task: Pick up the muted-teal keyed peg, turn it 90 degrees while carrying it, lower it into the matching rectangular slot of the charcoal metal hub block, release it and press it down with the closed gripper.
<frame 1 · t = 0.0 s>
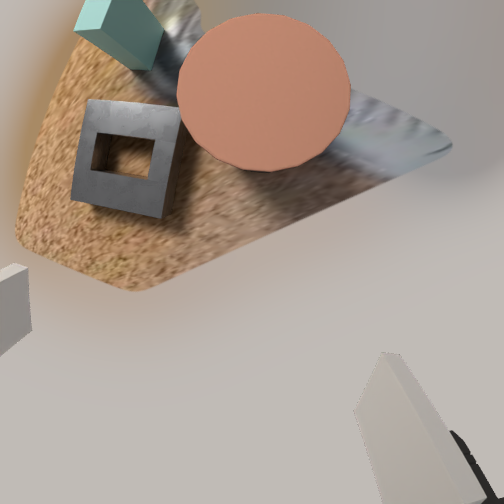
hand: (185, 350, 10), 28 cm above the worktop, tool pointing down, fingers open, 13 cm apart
coffee jar: (263, 127, 35), on the worktop
keyed peg: (146, 48, 32), on the worktop
hub block: (134, 156, 36), on the worktop
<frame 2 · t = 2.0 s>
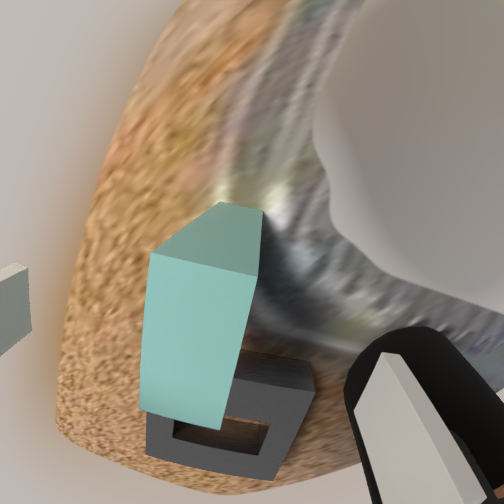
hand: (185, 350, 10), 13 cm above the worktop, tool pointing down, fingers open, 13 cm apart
coffee jar: (396, 371, 25), on the worktop
keyed peg: (232, 247, 23), on the worktop
hub block: (224, 401, 26), on the worktop
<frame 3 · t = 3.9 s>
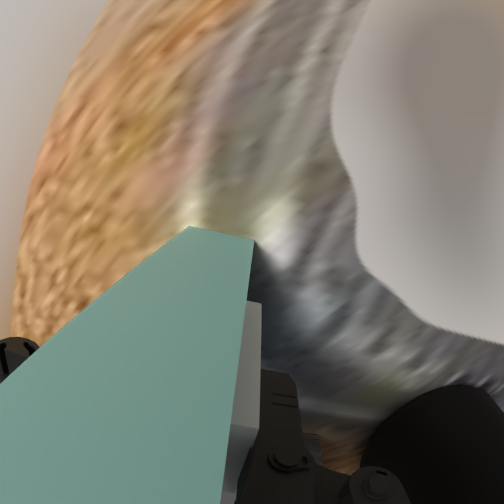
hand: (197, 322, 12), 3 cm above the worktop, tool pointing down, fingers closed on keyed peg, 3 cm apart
coffee jar: (424, 434, 18), on the worktop
keyed peg: (209, 293, 15), on the worktop, touching gripper
hub block: (208, 473, 19), on the worktop
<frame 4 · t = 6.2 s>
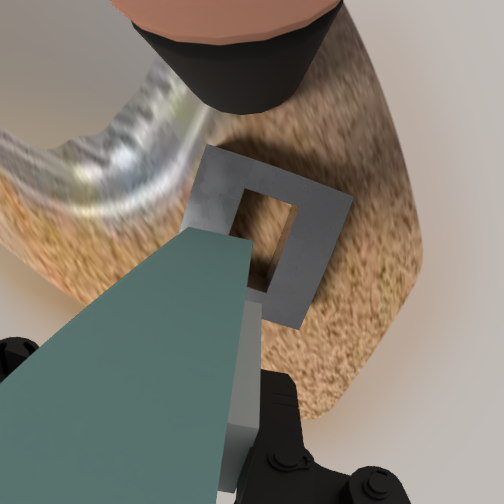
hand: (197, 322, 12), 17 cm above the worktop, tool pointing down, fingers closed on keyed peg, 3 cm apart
coffee jar: (244, 62, 25), on the worktop
keyed peg: (208, 294, 15), point 14 cm above the worktop, touching gripper
hub block: (256, 232, 29), on the worktop
when the fingers open (6 cm above the worktop, at t = 8.8 s): keyed peg drops 2 cm, resting in hub block.
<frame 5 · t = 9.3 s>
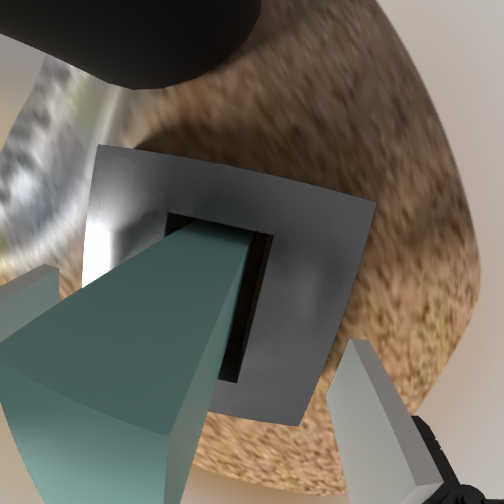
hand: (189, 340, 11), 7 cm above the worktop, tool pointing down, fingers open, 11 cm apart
coffee jar: (169, 14, 14), on the worktop
keyed peg: (215, 277, 18), resting in hub block
hub block: (216, 277, 18), on the worktop
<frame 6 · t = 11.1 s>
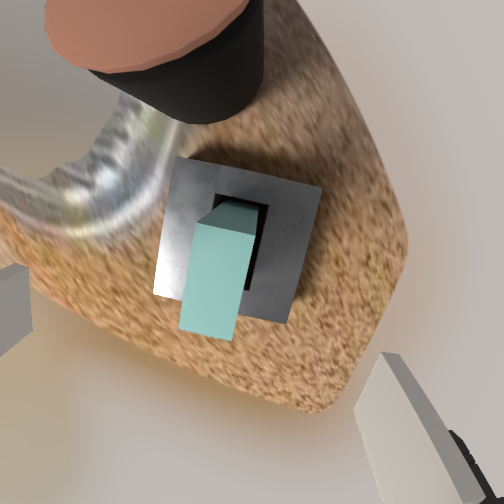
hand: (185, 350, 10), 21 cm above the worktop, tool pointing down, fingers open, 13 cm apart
coffee jar: (206, 74, 27), on the worktop
keyed peg: (235, 234, 30), resting in hub block
hub block: (236, 234, 30), on the worktop
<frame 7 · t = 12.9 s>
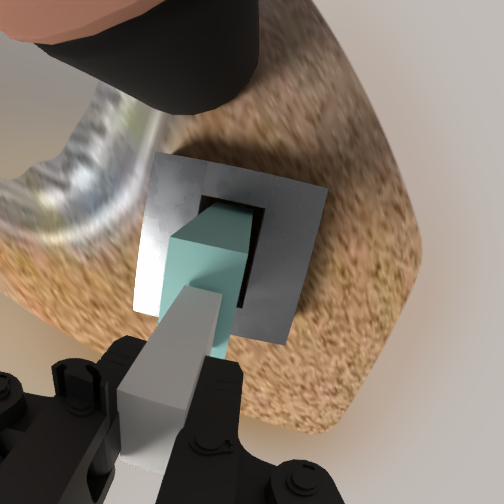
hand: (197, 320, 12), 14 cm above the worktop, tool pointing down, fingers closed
coffee jar: (194, 58, 23), on the worktop
keyed peg: (227, 241, 26), resting in hub block, touching gripper
hub block: (228, 241, 26), on the worktop
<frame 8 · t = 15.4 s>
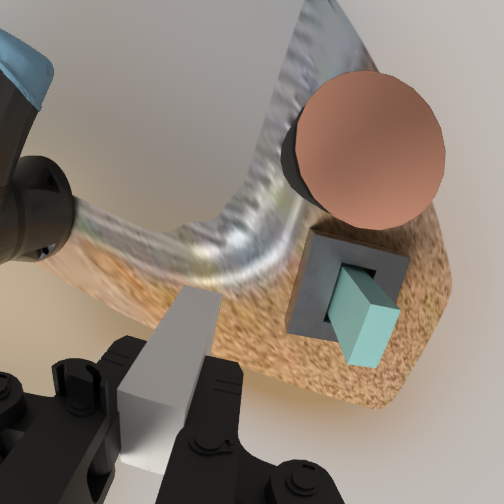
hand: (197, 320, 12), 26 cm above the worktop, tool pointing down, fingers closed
coffee jar: (324, 158, 36), on the worktop
keyed peg: (341, 285, 39), resting in hub block
hub block: (342, 284, 39), on the worktop
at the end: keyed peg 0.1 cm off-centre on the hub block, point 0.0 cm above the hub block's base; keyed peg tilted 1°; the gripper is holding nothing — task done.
